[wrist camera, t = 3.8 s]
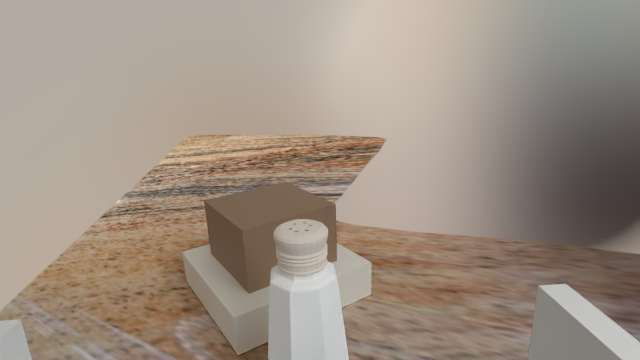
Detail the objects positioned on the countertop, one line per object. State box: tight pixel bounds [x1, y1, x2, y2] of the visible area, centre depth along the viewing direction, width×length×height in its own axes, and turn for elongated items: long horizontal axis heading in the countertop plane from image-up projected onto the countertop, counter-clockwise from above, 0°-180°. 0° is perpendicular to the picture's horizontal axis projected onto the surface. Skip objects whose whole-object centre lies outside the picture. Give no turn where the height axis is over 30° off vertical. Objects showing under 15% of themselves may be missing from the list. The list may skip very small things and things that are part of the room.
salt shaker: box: [268, 219, 349, 360], centre depth 22 cm, size 5×5×11 cm
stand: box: [182, 182, 371, 355], centre depth 34 cm, size 12×12×8 cm
